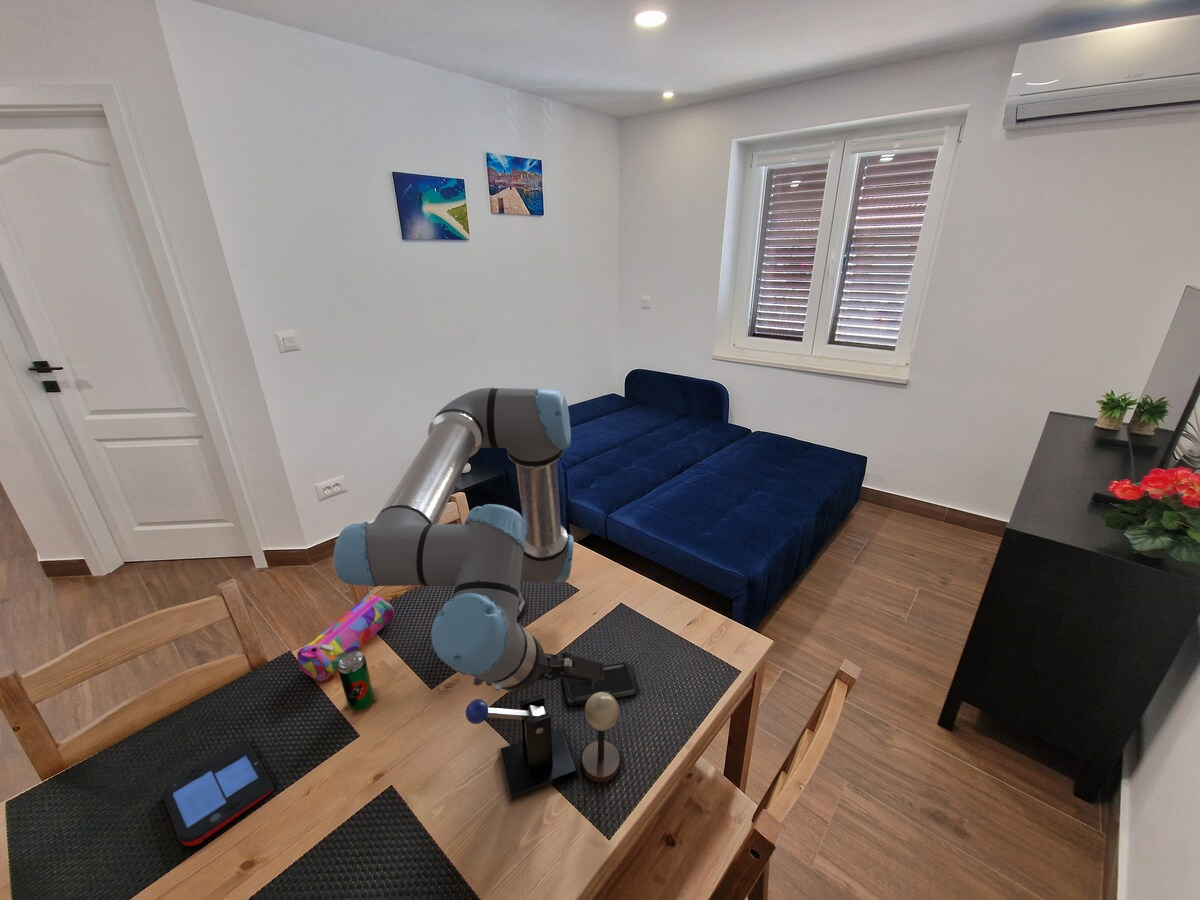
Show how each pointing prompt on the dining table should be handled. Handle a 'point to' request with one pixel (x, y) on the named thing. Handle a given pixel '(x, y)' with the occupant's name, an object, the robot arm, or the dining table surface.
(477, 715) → the switch lever
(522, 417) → the robot arm
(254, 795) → the game console
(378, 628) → the pencil case
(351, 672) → the soda can
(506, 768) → the switch bracket
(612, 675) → the phone
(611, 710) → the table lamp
